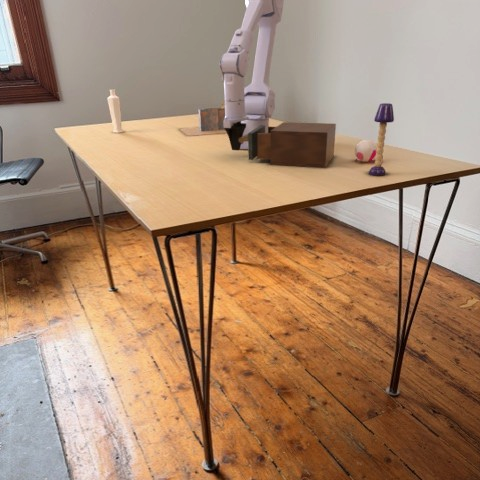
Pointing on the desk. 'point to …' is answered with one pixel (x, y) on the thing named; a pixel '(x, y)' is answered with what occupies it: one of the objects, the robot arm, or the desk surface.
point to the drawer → (258, 143)
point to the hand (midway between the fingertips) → (235, 149)
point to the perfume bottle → (115, 111)
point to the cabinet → (302, 144)
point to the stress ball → (365, 151)
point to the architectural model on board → (209, 122)
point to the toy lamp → (381, 135)
